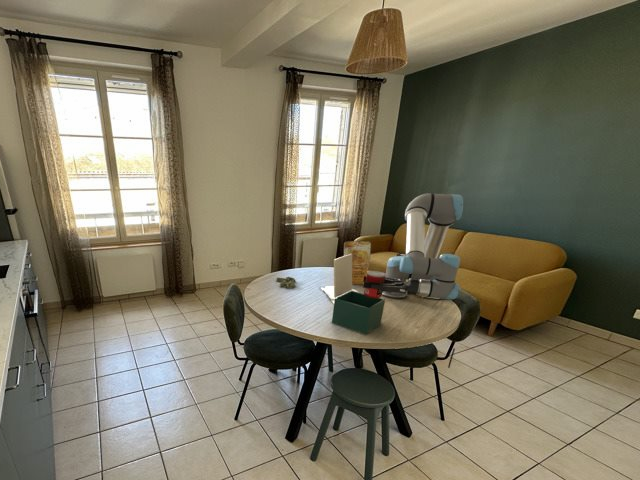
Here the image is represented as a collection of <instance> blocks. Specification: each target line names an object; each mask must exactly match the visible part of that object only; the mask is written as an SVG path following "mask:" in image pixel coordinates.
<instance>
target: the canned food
mask: <svg viewBox="0 0 640 480" xmlns="http://www.w3.org/2000/svg"><path fill="white" fill-rule="evenodd" d="M385 275H386V272H383V271H379V270H368V271H367V276H366V282H374V283H379V285H380V282H381V283H382V284H384V281H385ZM382 292H383V291H381V290H379V289H372V288H364V290H363V294H364V295H365V296H367V297H370V298H381V297H382V296H383V295H382Z"/></svg>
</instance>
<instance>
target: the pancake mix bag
mask: <svg viewBox="0 0 640 480" xmlns="http://www.w3.org/2000/svg"><path fill="white" fill-rule="evenodd" d="M371 251H372V242H370V241H368V240H367V241H366V240H365V241H364V240H362V241H358V240H350V241H349V240H348V241H345V242H344V243H343V256H346V255H349V254H352V285H364V282H363V280H364V276H367V272H368V271H369V266H370V260H371Z"/></svg>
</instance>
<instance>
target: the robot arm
mask: <svg viewBox="0 0 640 480" xmlns="http://www.w3.org/2000/svg"><path fill="white" fill-rule="evenodd" d="M463 211H464V197H463V195H461V194H454V193H451V194H450V193H423V194H421V195H418V196H416V197H414V199H412V201H411V200H410V202H409V204H408V205H407V206H406V208H405V212H404V220H405V221H406V237H405V253H406V256H397V255H396V256H391V257H390V258H389V259H388V261H387V264H386V271H385V281H384V284H382V283H381V282H380V285H379V283H374V282H366V276H364V280H363V282H364V284H362V285H363V286H362V288H364V289H365V288H372V289H379V290H381V291H383V292H382V296H383V297H386V298H389V299H404V298H405V299H406V297H407V295H408V296H414V297H418V298H422V299H425V300H426V299H427V300H432V301H433V300H434V301H459V302H461V303H462V304H464V303H465V301H464V300H462V299H460V298H457V297H458V295H459V292H460V285H459V283H458V282H456V278H457V273H458V270H459V267H460V263H461V258H460V256H458V255H457V254H453V253H442V254H440V251H441V249H442V246H443V243H444V241H445V239H446V236H447V233H448V230H449V228H450V227H451V226H452V225H454V224H455V221H459V220H461V219H462V215H463ZM427 219H428V222H429V226H428V229H427V233H426V220H427ZM425 233H426V235H425ZM439 254H440V255H439ZM438 256H439V257H438ZM407 280H408V281H407ZM455 350H456V348H453V349H452V352H451V355H450V359H449V362H448V365H447V368H448V369H450V368H451V365H452V360H453V357H454V353H455Z"/></svg>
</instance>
